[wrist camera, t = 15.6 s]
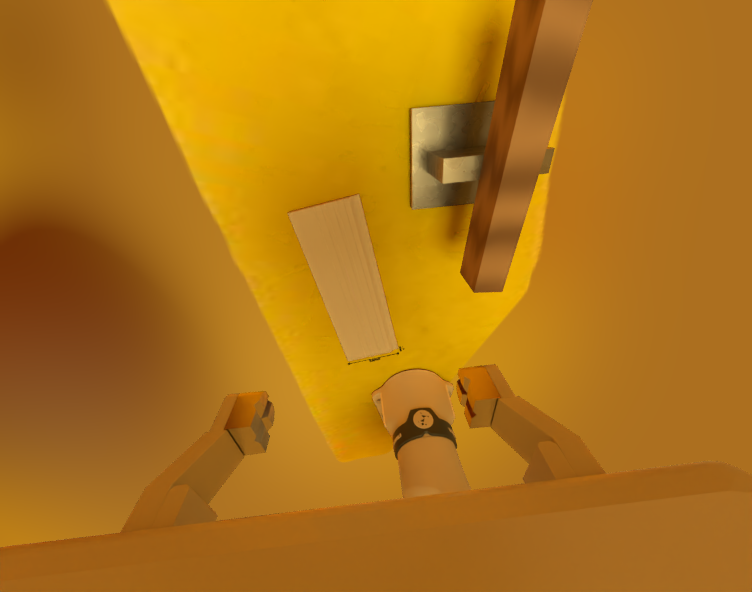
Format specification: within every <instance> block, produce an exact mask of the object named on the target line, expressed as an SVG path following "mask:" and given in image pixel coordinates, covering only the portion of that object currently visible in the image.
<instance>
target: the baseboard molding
mask: <svg viewBox="0 0 752 592" xmlns="http://www.w3.org/2000/svg"><path fill="white" fill-rule="evenodd" d="M288 216H289V218H290V221H291V223H292V226H293V228H294V230H295V233H296V235H297V238H298V240H299V243H300V245H301V248H302V250H303V252H304V255H305V257H306V260H307V262H308V265H309V267H310V270H311V272H312V274H313V277H314V279H315V282H316V284H317V287H318V289H319V292H320V294H321V296H322V299H323V301H324V304H325V306H326V309H327V311H328V314H329V316H330V318H331V321H332V323H333V326H334V328H335V331H336V333H337V336H338V338H339V340H340V343H341V345H342V348H343V350H344V353H345V355H346V358H347V360H348V361H352V360H357V359H361V358H366V357H369V356H374V355H379V354H383V353H390V352H392V351H393V350H394V349H398V345H397V341H396V337H395V333H394V330H393V326H392V322H391V318H390V314H389V310H388V306H387V302H386V298H385V294H384V290H383V286H382V282H381V278H380V274H379V270H378V266H377V262H376V259H375V255H374V251H373V247H372V243H371V239H370V235H369V231H368V227H367V223H366V219H365V215H364V211H363V207H362V203H361V199H360V195H359V194H356V195H352V196H348V197H344V198H340V199H336V200H333V201H329V202H325V203H321V204H317V205H313V206H309V207H305V208H301V209H298V210H294V211H290V212H288ZM399 348H401V347H399ZM404 349H405V348H404ZM404 349H403V350H404ZM400 350H401V349H400ZM401 351H402V350H401ZM397 354H399V353H398V352H397ZM392 355H394V354H392ZM388 356H389V355H388ZM383 357H385V356H383ZM369 360H370V362H371V359H369ZM378 360H380V357H378ZM364 361H366V360H364ZM372 361H375V358H374V359H373V360H372ZM359 362H361V361H359ZM355 363H356V362H355ZM350 364H352V363H350ZM348 365H349V363H348Z"/></svg>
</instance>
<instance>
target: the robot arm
mask: <svg viewBox="0 0 752 592" xmlns="http://www.w3.org/2000/svg"><path fill="white" fill-rule="evenodd" d="M458 376H459V380H458V381H457V394H458V398H459V401H460V403H461V405H463V406H464V407H465V413H464V414H465V417H466V419H467V422H468V424H469V427H470V428H479V427H491V428H492V429H493V430H494V431H495V432H496V433H497V434H498V435H499V436H500V437H501V438H502V439H503V440H504V441H505V442H507V443H508V444H509V445H510V446H511V447H512V448H513V449H514V450H515V451H516V452H517V453H518V454H519V455H520V456H521V457H522V458H523V459H525V460H526V461H527V462H528V463H529V466H528V468H527V470H526V472H525V475H524V477H523V480H524V482H525V483H524V484H515V485H507V486H499V487H491V488H483V489H474V490H471V488H470V486H469V483H468V481H467V478H466V476H465V473H464V471H463V468H462V465H461V463H460V460H459V457H458V454H457V451H456V449H457V444H456V440H455V439H456V438H455V435H454V432H453V430H452V427H451V425H452V423H453V421H454V419H455V414H454V410H453V406H452V403H451V400H450V397H451V395H452V392H453V390H454V388H453V384H452V383H450V382H447V381H444V380H442V379H441V378H440V377H439V376H438V375H437V374H435V373H433V372H431V371H427V370H419V369H416V370H408V371H404V372H401V373H398V374H396V375H394V376H393V377H391V378H390V379H389V380H388V381H387V382H386V383H385V384H384V385H383V386H382V387H381V388H379V389H378V390H376V391H374V392H373V393H372V399H373V401H374V403H375V405H376V407H377V410H378V412H379V414H380V416H381V418H382V420H383V422H384V426H385V427H386V429H387V430H388V432H389V434H390V435H391V437H392V439H393V449H394V452H395V456H396V458H397V460H398V464H399V472H400V479H401V486H402V494H403V498H400V499H393V500H385V501H375V502H367V503H359V504H351V505H343V506H334V507H327V508H318V509H310V510H302V511H293V512H285V513H278V514H269V515H261V516H253V517H245V518H236V519H228V520H220V521H216V519H217V514H216V512H215V511H214V510H213V509H212V508H211V507H210V506H209V505H208V504H209V502H210V501H211V500H212V498H213V497H214V496H215V495H216V493H217V492H218V491H219V489H220V488H221V487H222V485H223V484H224V483H225V482H226V480H227V479H228V478H229V476H230V475H231V474H232V472H233V471H234V470H235V469H236V467H237V466H238V464H239V463H240V462H241V461H242V459H243V458H244V455H251V454H258V453H265V452H266V449H267V445H268V441H269V437H270V435H269V434H268V432H267V431H268V430H269V429H270V428H271V426H273V421H274V406H273V404H272V403H271V402H270V401H268V397H269V396H268V394H267V392H266V391H260V392H248V393H238V394H228V395H227V396H226V397H225V398H224V401H223V403H222V405H221V407H220V409H219V412H218V414H217V416H216V418H215V420H214V423H213V425H212V427H211V429H210V431H209V432H206V433H204V435H202V436H201V437H200V438H199V439H198V440H197V441H196V442H195V443H194V444H192V446H190V447H189V448H188V449H187V450H186V451H185V452H184V453H183V454H182V455H181V456H179V457H178V458H177V459H176V460H175V461H174V462H173V463H172V464H171V465H170V466H169V467H167V468H166V469H165V470H164V471H163V472H162V473H161V474H160V475H159V476H158V477H157V478H155V479H154V480H153V481H152V482H151V483H150V484H149V485H148V486H147V487H146V488H145V489H144V491H143V493H142V495H141V496H140V498H139V500H138V502H137V503H136V505H135V507H134V509H133V511H132V512H131V514H130V516H129V518H128V519H127V521H126V523H125V525H124V527H123V528H122V530H121V532H120V533H113V534H105V535H97V536H88V537H80V538H73V539H64V540H56V541H48V542H39V543H32V544H22V545H13V546H6V547H1V548H0V592H752V475H751V474H749V473H747V472H745V471H743V470H741V469H739V468H737V467H734V466H732V465H730V464H727V463H724V462H719V461H703V462H696V463H688V464H680V465H671V466H663V467H655V468H647V469H639V470H630V471H622V472H615V473H605V471H604V470H603V469H602V467H601V466H600V464H599V463H598V462H597V460H596V459H595V457H594V456H593V455H592V453H591V452H590V450H589V449H588V448H587V446H586V445H585V443H584V442H583V441H582V439H581V438H580V437H579V436H578V435H576V434H575V433H573V432H572V431H570V430H569V429H567V428H566V427H564V426H563V425H561V424H560V423H558V422H557V421H555V420H554V419H552V418H551V417H549V416H548V415H546V414H545V413H543V412H542V411H540V410H539V409H537V408H536V407H534V406H533V405H531V404H530V403H528V402H527V401H525V400H524V399H522V398H521V397H519V396H516V397H515V395H514V393H513V392H512V390H511V388H510V387H509V385H508V383H507V382H506V380H505V378H504V377H503V375H502V373H501V372H500V370H499V368H498V367H497V366H496V365H495V364H494V365H484V366H474V367H467V368H460V369H459V370H458Z"/></svg>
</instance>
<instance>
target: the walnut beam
mask: <svg viewBox="0 0 752 592" xmlns="http://www.w3.org/2000/svg"><path fill="white" fill-rule="evenodd" d="M592 1H593V0H516V1H515V6H514V11H513V15H512V20H511V25H510V30H509V35H508V40H507V45H506V50H505V55H504V60H503V65H502V70H501V74H500V79H499V84H498V89H497V94H496V99H495V104H494V109H493V114H492V119H491V124H490V129H489V133H488V138H487V143H486V148H485V153H484V158H483V163H482V168H481V173H480V178H479V183H478V188H477V192H476V197H475V202H474V207H473V212H472V217H471V222H470V227H469V232H468V237H467V242H466V247H465V251H464V256H463V261H462V266H461V271H460V273H461V275H462V276H463V278H464V279H465V280H466V282H467V283H468V285H469V286H470V288H471V289H472V290H473V292H474V293H478V292H502V291H503V288H504V285H505V281H506V278H507V275H508V272H509V268H510V265H511V262H512V259H513V256H514V252H515V249H516V246H517V243H518V240H519V236H520V233H521V230H522V227H523V223H524V220H525V217H526V214H527V211H528V207H529V204H530V201H531V198H532V194H533V191H534V188H535V185H536V182H537V178H538V175H539V172H540V169H541V166H542V162H543V159H544V156H545V153H546V149H547V146H548V143H549V140H550V137H551V133H552V130H553V127H554V124H555V121H556V117H557V114H558V111H559V108H560V104H561V101H562V98H563V95H564V92H565V88H566V85H567V82H568V79H569V75H570V72H571V69H572V65H573V62H574V59H575V56H576V53H577V50H578V47H579V43H580V40H581V37H582V34H583V30H584V27H585V24H586V21H587V17H588V14H589V11H590V8H591V5H592Z"/></svg>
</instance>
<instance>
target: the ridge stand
mask: <svg viewBox="0 0 752 592" xmlns="http://www.w3.org/2000/svg"><path fill="white" fill-rule="evenodd" d="M494 104H495V101H488V102H477V103H466V104H456V105H445V106H435V107H424V108H413V109H410V201H411V208H412V210H413V209H423V208H433V207H443V206H453V205H462V204H472V203H474V202H475V197H476V192H477V188H478V183H479V178H480V173H481V168H482V163H483V158H484V153H485V148H486V143H487V138H488V133H489V129H490V124H491V119H492V114H493V109H494ZM553 152H554V148H551V147H547V149H546V153H545V156H544V159H543V162H542V166H541V169H540V172H539V174H545V173H549V169H550V165H551V161H552V156H553Z"/></svg>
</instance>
